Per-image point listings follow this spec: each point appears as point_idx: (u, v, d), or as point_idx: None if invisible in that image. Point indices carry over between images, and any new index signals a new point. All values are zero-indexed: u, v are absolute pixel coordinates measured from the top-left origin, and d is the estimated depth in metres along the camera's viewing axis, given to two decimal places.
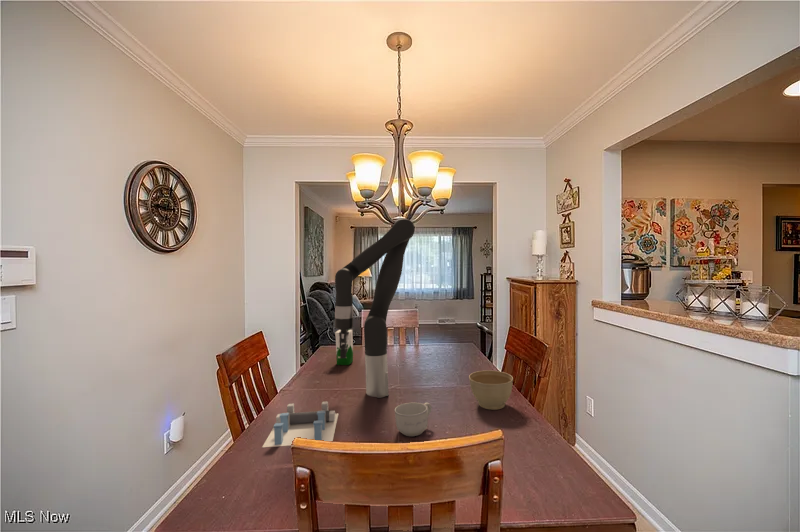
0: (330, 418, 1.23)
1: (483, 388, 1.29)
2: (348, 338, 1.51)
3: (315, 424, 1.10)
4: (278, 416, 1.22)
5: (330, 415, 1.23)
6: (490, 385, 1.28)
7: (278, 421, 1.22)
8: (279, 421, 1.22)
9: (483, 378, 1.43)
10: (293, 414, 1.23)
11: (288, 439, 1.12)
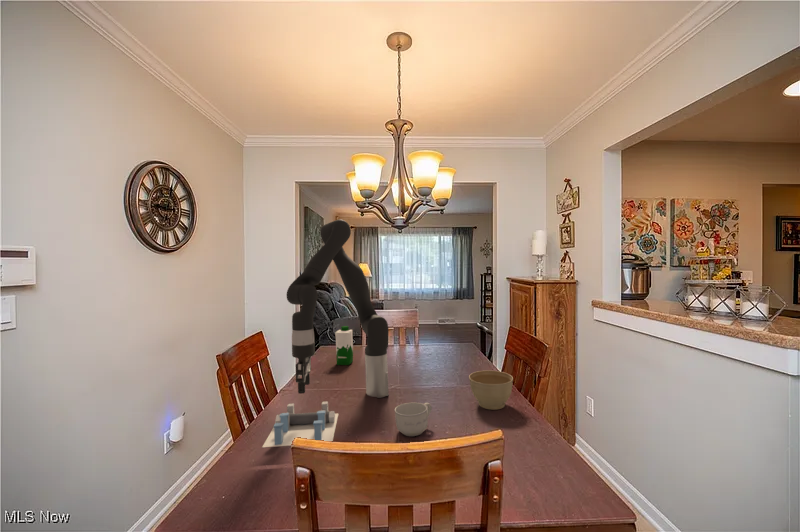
0: (330, 420, 1.23)
1: (483, 388, 1.29)
2: (310, 367, 1.26)
3: (315, 424, 1.10)
4: (277, 419, 1.21)
5: (330, 418, 1.22)
6: (490, 385, 1.28)
7: None
8: None
9: (483, 378, 1.43)
10: (292, 417, 1.21)
11: (288, 439, 1.12)
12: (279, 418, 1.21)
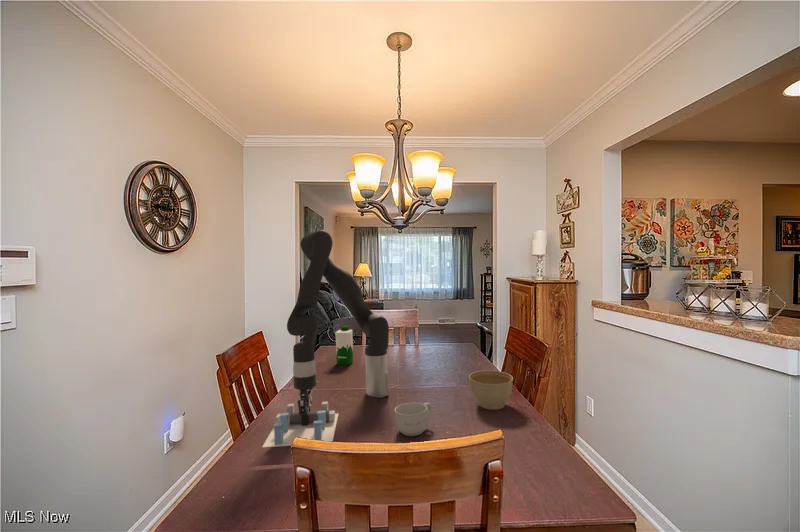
0: (330, 418, 1.23)
1: (483, 388, 1.29)
2: (311, 399, 1.25)
3: (315, 424, 1.10)
4: (278, 416, 1.22)
5: (330, 415, 1.23)
6: (490, 385, 1.28)
7: (278, 421, 1.22)
8: (279, 421, 1.22)
9: (483, 378, 1.43)
10: (293, 414, 1.23)
11: (288, 439, 1.12)
12: None
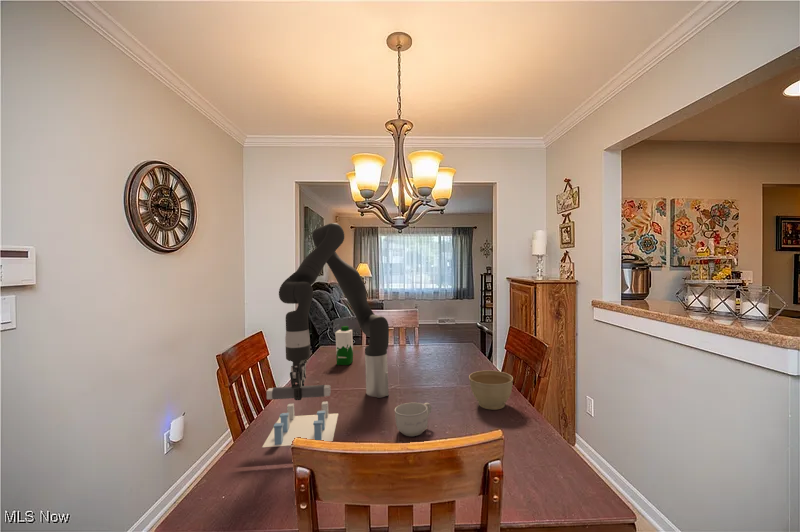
0: (325, 393, 1.14)
1: (483, 388, 1.29)
2: (305, 373, 1.16)
3: (315, 424, 1.10)
4: (269, 390, 1.13)
5: (325, 389, 1.14)
6: (490, 385, 1.28)
7: (269, 395, 1.13)
8: (270, 395, 1.13)
9: (483, 378, 1.43)
10: (285, 388, 1.14)
11: (288, 439, 1.12)
12: (271, 390, 1.13)
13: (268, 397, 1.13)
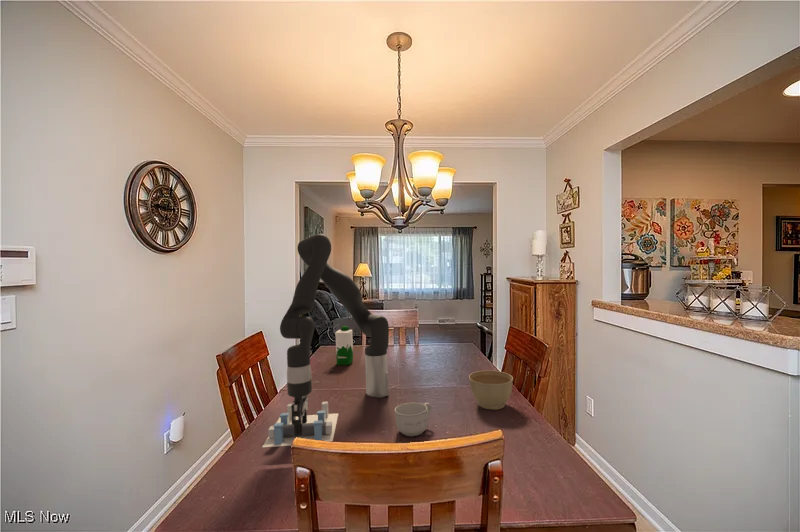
0: (327, 430, 1.14)
1: (483, 388, 1.29)
2: (307, 405, 1.17)
3: (315, 424, 1.10)
4: (271, 428, 1.13)
5: (327, 427, 1.14)
6: (490, 385, 1.28)
7: (271, 434, 1.13)
8: (272, 434, 1.13)
9: (483, 378, 1.43)
10: (287, 426, 1.14)
11: (288, 439, 1.12)
12: (273, 428, 1.14)
13: (270, 435, 1.13)
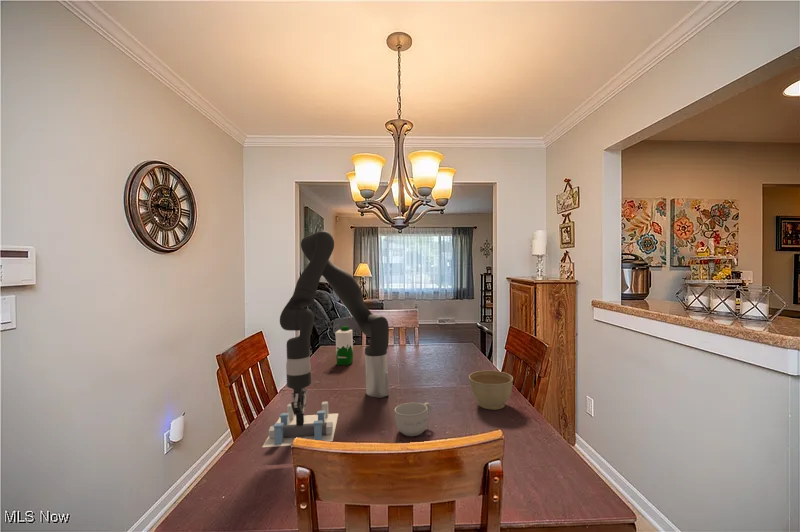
0: (327, 431, 1.14)
1: (483, 388, 1.29)
2: (305, 400, 1.15)
3: (315, 424, 1.10)
4: (271, 429, 1.13)
5: (327, 428, 1.14)
6: (490, 385, 1.28)
7: (271, 435, 1.12)
8: (272, 435, 1.12)
9: (483, 378, 1.43)
10: (287, 427, 1.13)
11: (288, 439, 1.12)
12: (273, 428, 1.13)
13: (270, 436, 1.13)
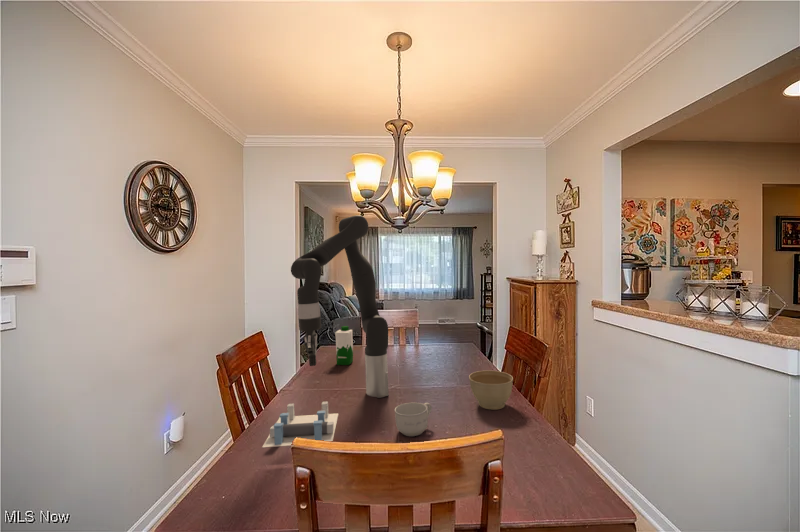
0: (328, 429, 1.14)
1: (483, 388, 1.29)
2: (316, 343, 1.25)
3: (315, 424, 1.10)
4: (272, 427, 1.14)
5: (328, 426, 1.14)
6: (490, 385, 1.28)
7: (272, 433, 1.13)
8: (273, 433, 1.13)
9: (483, 378, 1.43)
10: (288, 425, 1.14)
11: (288, 439, 1.12)
12: None
13: (271, 435, 1.13)
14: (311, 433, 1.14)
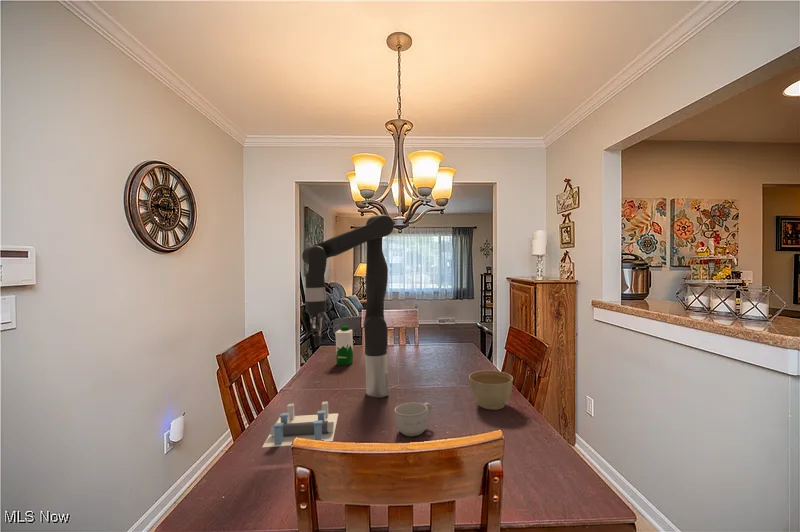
0: (328, 427, 1.15)
1: (483, 388, 1.29)
2: (321, 325, 1.35)
3: (315, 424, 1.10)
4: (273, 426, 1.15)
5: (328, 424, 1.15)
6: (490, 385, 1.28)
7: (272, 430, 1.14)
8: None
9: (483, 378, 1.43)
10: (289, 423, 1.15)
11: (288, 439, 1.12)
12: None
13: (271, 432, 1.13)
14: (311, 431, 1.14)
